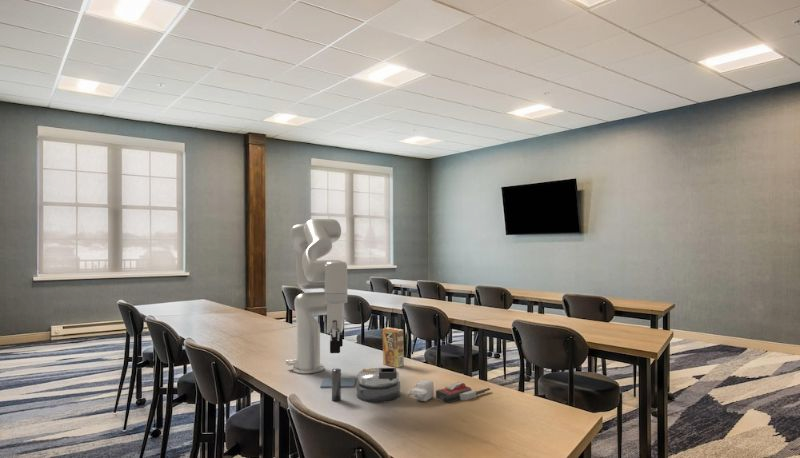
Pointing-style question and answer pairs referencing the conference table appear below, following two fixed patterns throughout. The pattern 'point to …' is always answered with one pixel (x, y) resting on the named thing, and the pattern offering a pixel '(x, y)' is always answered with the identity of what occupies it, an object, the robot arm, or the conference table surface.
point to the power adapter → (423, 390)
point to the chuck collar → (378, 378)
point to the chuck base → (378, 394)
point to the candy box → (393, 347)
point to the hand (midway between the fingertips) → (336, 349)
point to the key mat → (344, 382)
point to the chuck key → (336, 384)
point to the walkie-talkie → (457, 392)
